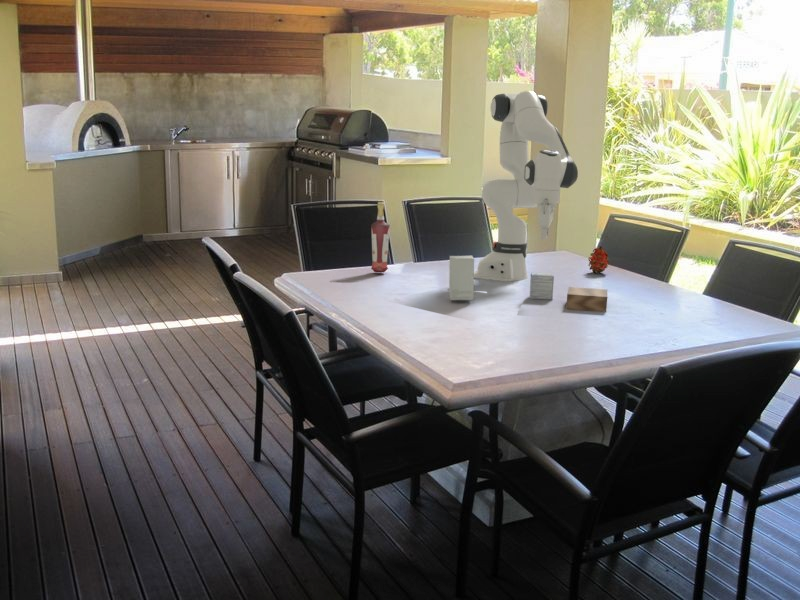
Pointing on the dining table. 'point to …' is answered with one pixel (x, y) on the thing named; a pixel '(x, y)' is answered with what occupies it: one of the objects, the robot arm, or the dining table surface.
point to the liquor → (380, 241)
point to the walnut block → (587, 299)
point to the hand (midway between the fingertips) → (544, 237)
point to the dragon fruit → (598, 260)
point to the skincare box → (461, 278)
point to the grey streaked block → (541, 286)
